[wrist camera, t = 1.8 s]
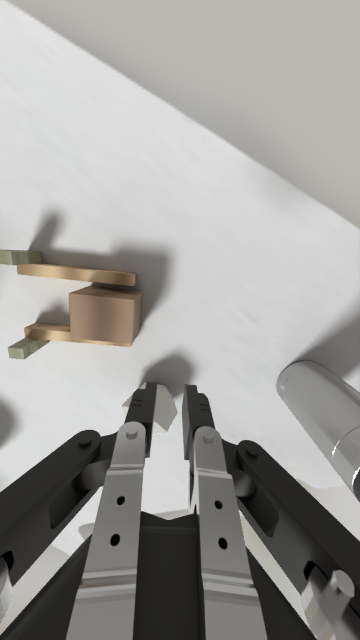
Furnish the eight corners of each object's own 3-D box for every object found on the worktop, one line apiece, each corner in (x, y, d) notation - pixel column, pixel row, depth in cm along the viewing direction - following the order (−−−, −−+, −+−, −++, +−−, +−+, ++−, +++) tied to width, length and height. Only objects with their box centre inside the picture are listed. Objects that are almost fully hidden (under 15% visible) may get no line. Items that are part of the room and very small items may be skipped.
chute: (137, 262, 31) (129, 264, 26) (133, 349, 36) (125, 367, 30) (27, 250, 30) (-7, 249, 25) (36, 341, 35) (9, 358, 29)
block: (142, 290, 33) (134, 300, 26) (140, 326, 34) (132, 343, 28) (90, 285, 32) (68, 293, 26) (91, 322, 34) (70, 338, 27)
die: (139, 365, 37) (103, 413, 31) (182, 378, 34) (150, 437, 27) (150, 390, 42) (121, 437, 36) (189, 405, 39) (163, 460, 32)
